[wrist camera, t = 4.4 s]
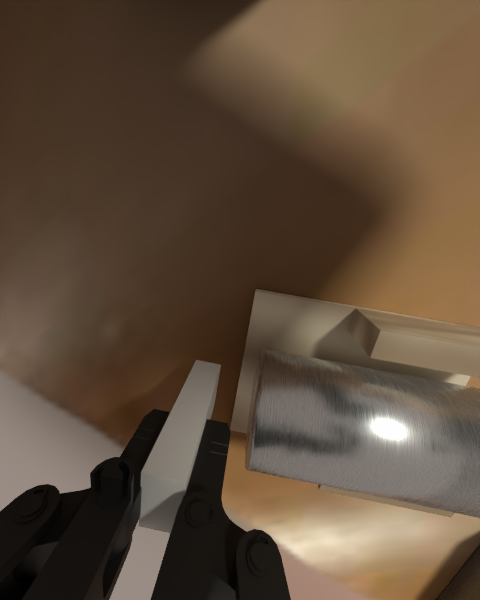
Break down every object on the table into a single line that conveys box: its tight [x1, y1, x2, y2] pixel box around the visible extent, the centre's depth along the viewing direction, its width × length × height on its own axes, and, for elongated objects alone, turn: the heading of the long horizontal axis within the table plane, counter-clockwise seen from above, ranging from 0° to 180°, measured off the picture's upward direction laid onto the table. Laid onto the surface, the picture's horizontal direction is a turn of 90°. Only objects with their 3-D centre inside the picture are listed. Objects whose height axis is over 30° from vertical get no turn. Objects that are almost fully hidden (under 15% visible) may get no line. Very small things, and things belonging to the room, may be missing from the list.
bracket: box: [230, 289, 480, 517], centre depth 14 cm, size 11×14×4 cm
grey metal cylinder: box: [245, 349, 480, 518], centre depth 13 cm, size 6×12×6 cm, turn 81°
